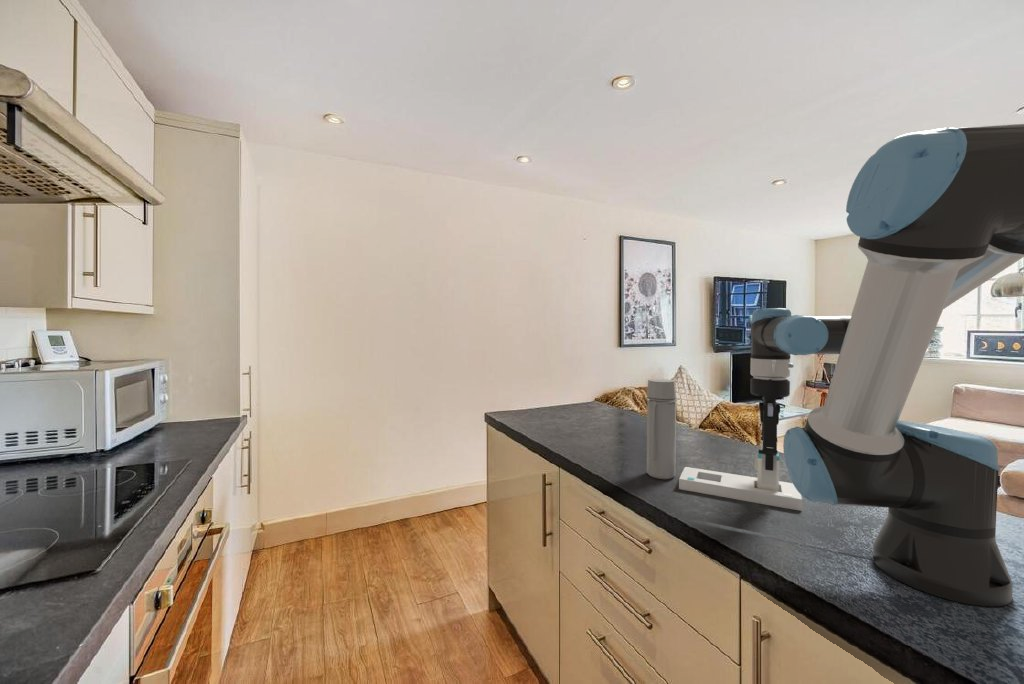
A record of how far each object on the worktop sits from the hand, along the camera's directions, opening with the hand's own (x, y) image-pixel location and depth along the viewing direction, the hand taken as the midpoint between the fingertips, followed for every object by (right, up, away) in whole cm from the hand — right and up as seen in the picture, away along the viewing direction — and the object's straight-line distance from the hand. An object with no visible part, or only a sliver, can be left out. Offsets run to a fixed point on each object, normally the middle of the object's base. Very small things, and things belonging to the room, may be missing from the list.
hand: (767, 476), depth 94 cm
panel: (-5, -5, +3) cm, 8 cm away
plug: (0, -5, 0) cm, 5 cm away
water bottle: (-19, -5, +15) cm, 25 cm away
